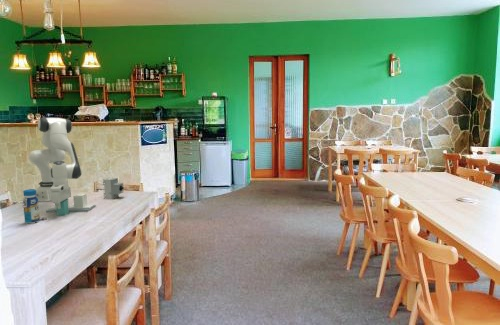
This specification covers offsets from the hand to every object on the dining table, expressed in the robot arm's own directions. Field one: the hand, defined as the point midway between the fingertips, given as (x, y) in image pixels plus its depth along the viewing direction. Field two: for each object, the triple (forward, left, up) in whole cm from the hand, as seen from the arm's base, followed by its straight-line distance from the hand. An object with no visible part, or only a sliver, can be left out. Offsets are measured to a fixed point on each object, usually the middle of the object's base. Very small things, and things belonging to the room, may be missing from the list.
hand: (62, 206), depth 260 cm
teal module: (0, 0, -5) cm, 5 cm away
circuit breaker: (+19, +47, -5) cm, 51 cm away
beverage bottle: (-11, -17, -5) cm, 21 cm away
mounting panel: (0, +13, -5) cm, 14 cm away
